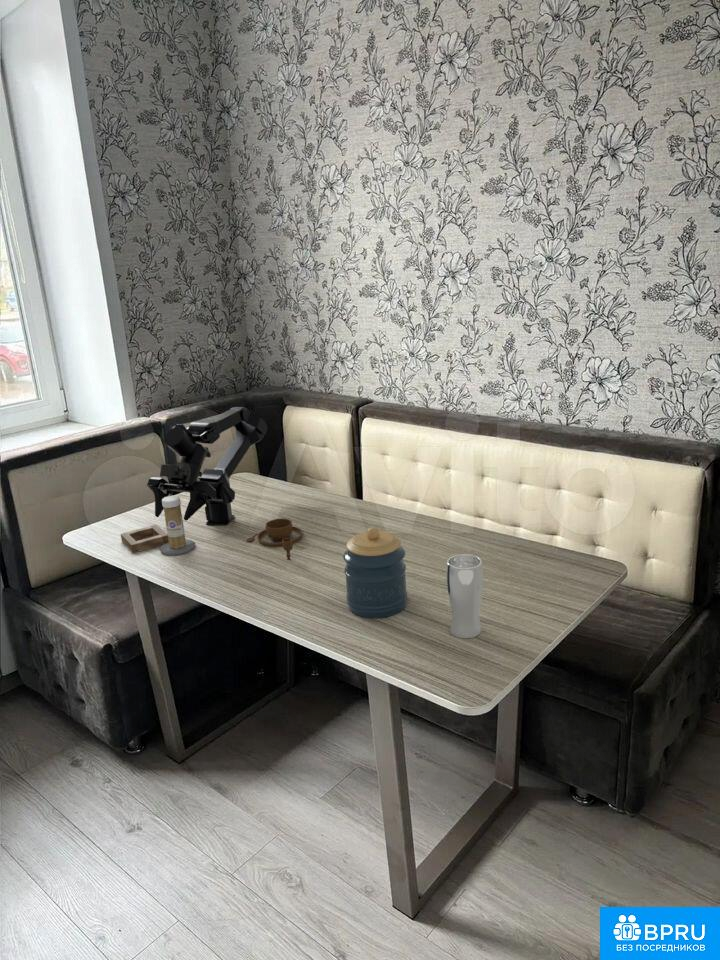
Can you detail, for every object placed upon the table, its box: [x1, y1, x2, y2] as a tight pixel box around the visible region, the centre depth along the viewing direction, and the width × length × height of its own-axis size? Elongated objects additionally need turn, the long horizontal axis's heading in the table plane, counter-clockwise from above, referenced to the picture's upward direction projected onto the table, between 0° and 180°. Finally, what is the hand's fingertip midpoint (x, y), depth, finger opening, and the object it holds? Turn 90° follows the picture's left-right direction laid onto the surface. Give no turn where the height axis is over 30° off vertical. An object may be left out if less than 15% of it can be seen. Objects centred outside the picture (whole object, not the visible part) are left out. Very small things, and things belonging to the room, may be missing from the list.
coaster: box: [159, 538, 196, 556], centre depth 193 cm, size 9×9×1 cm
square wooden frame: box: [120, 524, 169, 554], centre depth 198 cm, size 10×10×2 cm
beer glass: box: [445, 553, 484, 639], centre depth 142 cm, size 7×7×15 cm
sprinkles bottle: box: [162, 495, 186, 549], centre depth 191 cm, size 5×5×14 cm
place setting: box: [246, 518, 303, 561], centre depth 191 cm, size 18×20×6 cm
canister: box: [342, 526, 408, 619], centre depth 154 cm, size 13×13×18 cm
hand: (170, 518), depth 189 cm, fingers open, 9 cm apart
